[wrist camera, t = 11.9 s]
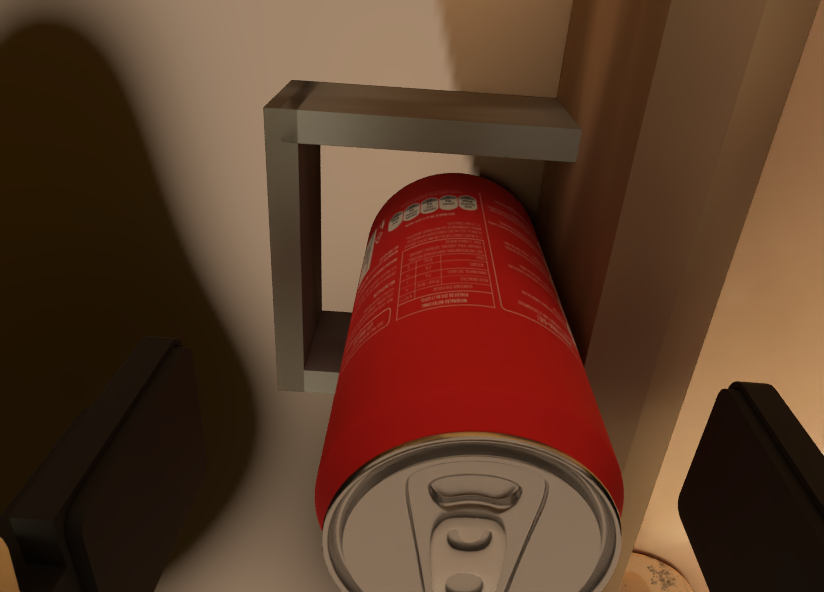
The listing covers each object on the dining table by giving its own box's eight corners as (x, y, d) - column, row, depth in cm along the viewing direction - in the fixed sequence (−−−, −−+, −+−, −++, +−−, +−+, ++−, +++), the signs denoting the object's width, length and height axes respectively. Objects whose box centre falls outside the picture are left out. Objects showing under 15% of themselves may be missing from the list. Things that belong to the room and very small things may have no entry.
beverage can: (541, 164, 19) (675, 433, 9) (521, 312, 22) (606, 659, 11) (370, 157, 19) (296, 415, 9) (369, 305, 22) (311, 644, 11)
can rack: (678, -46, 16) (844, -39, 10) (566, 430, 24) (616, 612, 18) (287, -74, 16) (190, -86, 10) (301, 413, 24) (253, 589, 17)
